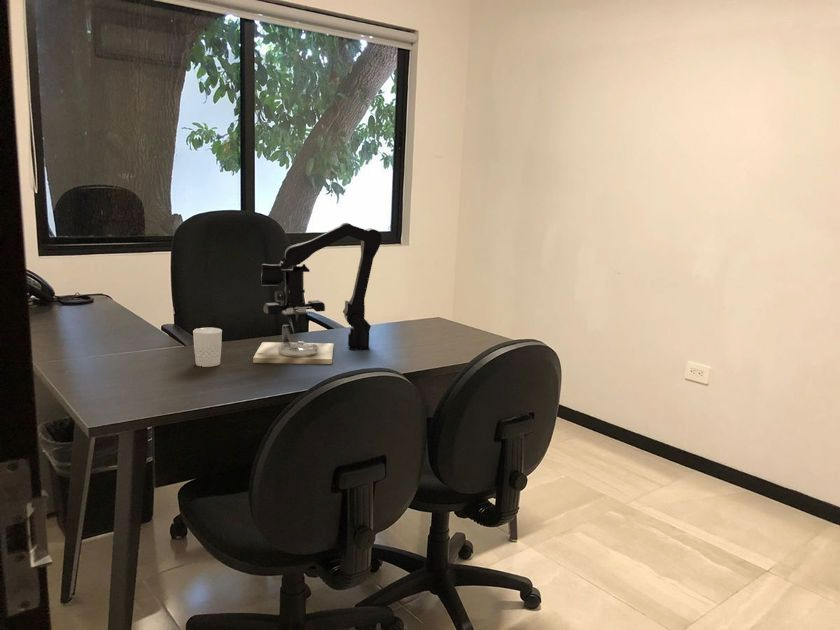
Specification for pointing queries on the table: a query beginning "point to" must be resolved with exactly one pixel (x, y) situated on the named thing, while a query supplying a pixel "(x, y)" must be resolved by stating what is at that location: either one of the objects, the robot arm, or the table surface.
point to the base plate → (270, 355)
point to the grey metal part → (295, 346)
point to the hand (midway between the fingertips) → (294, 333)
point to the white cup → (207, 346)
